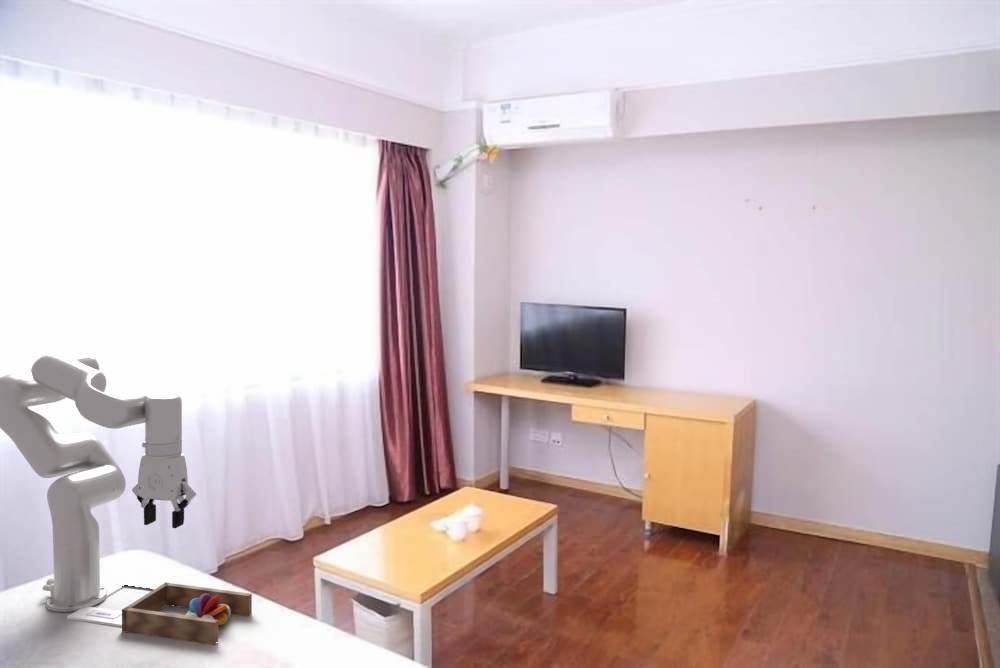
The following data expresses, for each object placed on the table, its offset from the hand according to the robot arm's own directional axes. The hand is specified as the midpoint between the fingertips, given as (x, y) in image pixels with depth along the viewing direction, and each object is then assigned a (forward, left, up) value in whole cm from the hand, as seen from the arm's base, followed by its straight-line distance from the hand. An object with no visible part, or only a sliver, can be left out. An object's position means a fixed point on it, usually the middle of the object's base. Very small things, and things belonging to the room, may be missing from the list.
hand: (163, 524), depth 156 cm
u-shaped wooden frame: (+7, 0, -23) cm, 24 cm away
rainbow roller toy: (+11, 0, -23) cm, 26 cm away
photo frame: (-14, +3, -23) cm, 27 cm away
